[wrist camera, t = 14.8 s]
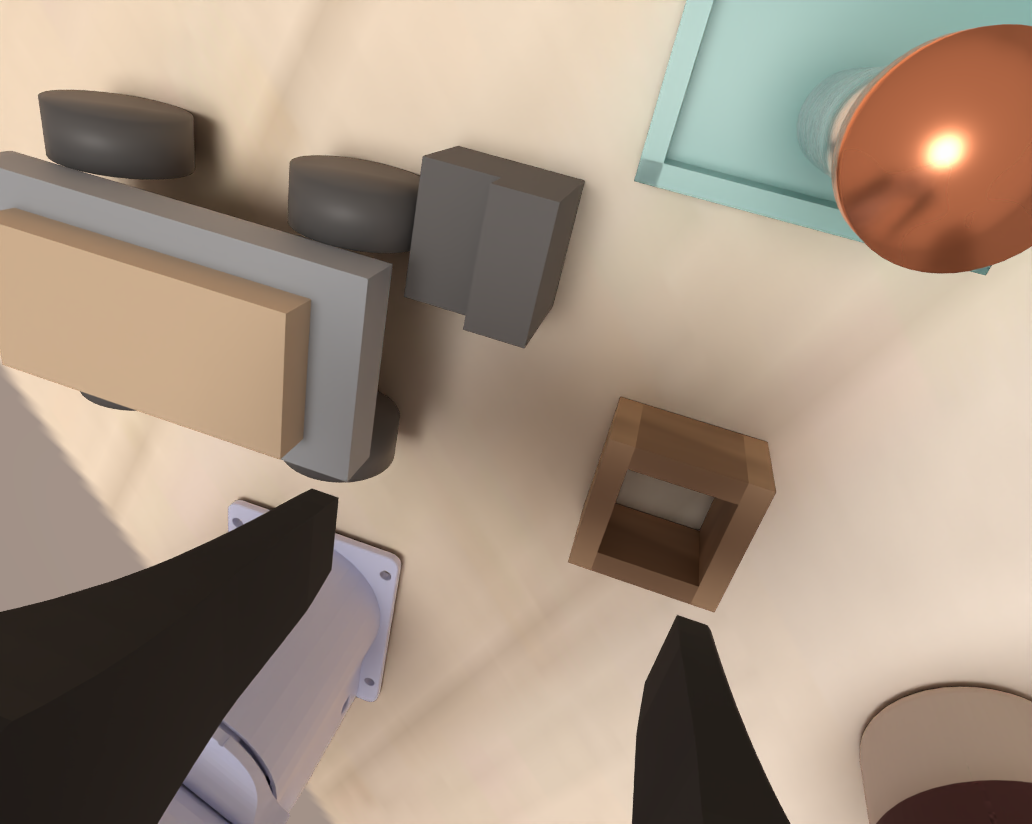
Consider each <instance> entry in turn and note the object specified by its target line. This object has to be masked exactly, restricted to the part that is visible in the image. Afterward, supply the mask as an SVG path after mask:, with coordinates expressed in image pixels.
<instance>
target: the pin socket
mask: <svg viewBox="0 0 1032 824" xmlns="http://www.w3.org/2000/svg"><path fill="white" fill-rule="evenodd" d="M627 469H629V470H632V471H635V472H638V473H641V474H644V475H647V476H650V477H654V478H657V479H660V480H663V481H666V482H669V483H672V484H675V485H678V486H682V487H685V488H688V489H691V490H694V491H697V492H700V493H703V494H706V495H709V496H713V497H715V498H714V500H713V502H712V505H711V507H710V509H709V511H708V513H707V516H706V518H705V520H704V522H703V524H702V527H701V529H700V531H698V530H695V529H692V528H689V527H685V526H682V525H679V524H676V523H673V522H670V521H667V520H664V519H661V518H658V517H655V516H652V515H649V514H646V513H643V512H640V511H637V510H634V509H631V508H628V507H625V506H622V505H619V504H616V503H615V502H616V499H617V497H618V494H619V491H620V488H621V486H622V483H623V480H624V477H625V475H626V472H627ZM775 493H776V488H775V483H774V477H773V471H772V465H771V460H770V454H769V448H768V442H765V441H762V440H759V439H756V438H752V437H749V436H746V435H743V434H739V433H736V432H733V431H730V430H726V429H723V428H720V427H717V426H713V425H710V424H707V423H704V422H701V421H697V420H694V419H691V418H688V417H684V416H681V415H678V414H675V413H671V412H668V411H665V410H662V409H658V408H655V407H652V406H649V405H646V404H642V403H639V402H636V401H633V400H629V399H626V398H623V397H620V400H619V403H618V406H617V409H616V412H615V415H614V418H613V421H612V424H611V427H610V430H609V433H608V436H607V439H606V442H605V445H604V448H603V451H602V454H601V457H600V460H599V463H598V466H597V469H596V472H595V475H594V478H593V481H592V484H591V487H590V490H589V493H588V496H587V499H586V501H585V504H584V507H583V510H582V514H581V517H580V521H579V525H578V528H577V532H576V535H575V539H574V542H573V546H572V550H571V553H570V557H569V560H568V562H569V563H572V564H575V565H577V566H580V567H583V568H586V569H589V570H592V571H595V572H598V573H601V574H604V575H607V576H610V577H612V578H615V579H618V580H621V581H624V582H627V583H630V584H633V585H636V586H639V587H642V588H644V589H647V590H650V591H653V592H656V593H659V594H662V595H665V596H668V597H671V598H674V599H677V600H679V601H682V602H685V603H688V604H691V605H694V606H697V607H700V608H703V609H706V610H709V611H712V612H715V610H716V608H717V606H718V605H719V603H720V601H721V599H722V597H723V595H724V593H725V591H726V589H727V587H728V585H729V583H730V581H731V579H732V577H733V575H734V573H735V571H736V569H737V567H738V566H739V564H740V562H741V560H742V558H743V556H744V554H745V552H746V550H747V548H748V546H749V544H750V542H751V540H752V538H753V536H754V534H755V532H756V530H757V528H758V527H759V525H760V523H761V521H762V519H763V517H764V515H765V513H766V511H767V509H768V507H769V505H770V503H771V501H772V499H773V497H774V495H775Z"/></svg>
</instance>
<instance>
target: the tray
mask: <svg viewBox="0 0 1032 824" xmlns="http://www.w3.org/2000/svg"><path fill="white" fill-rule="evenodd" d="M1000 24H1020V25H1028V26H1032V0H687V1H686V4H685V8H684V11H683V14H682V18H681V21H680V25H679V28H678V32H677V35H676V39H675V42H674V45H673V49H672V52H671V56H670V59H669V63H668V66H667V69H666V73H665V76H664V80H663V83H662V87H661V90H660V94H659V97H658V100H657V104H656V107H655V111H654V114H653V118H652V121H651V124H650V128H649V131H648V135H647V138H646V142H645V145H644V149H643V152H642V155H641V159H640V162H639V166H638V169H637V173H636V176H635V179H634V181H636V182H639V183H643V184H647V185H651V186H654V187H658V188H662V189H665V190H669V191H673V192H677V193H680V194H684V195H688V196H692V197H695V198H699V199H703V200H706V201H710V202H714V203H718V204H721V205H725V206H729V207H733V208H736V209H740V210H744V211H747V212H751V213H755V214H759V215H762V216H766V217H770V218H774V219H777V220H781V221H785V222H788V223H792V224H796V225H800V226H803V227H807V228H811V229H815V230H818V231H822V232H826V233H829V234H833V235H837V236H841V237H844V238H848V239H852V240H856V241H859V242H863V241H862V240H861V239H860V238H859V237H858V235H857V234H856V233H855V232H854V231H853V230H852V229H851V228H850V227H849V225H848V224H847V222H846V221H845V220H844V218H843V216H842V214H841V212H840V210H839V208H838V206H837V203H836V200H835V197H834V193H833V187H832V178H830V177H829V176H828V175H827V174H825V173H824V172H823V171H822V170H820V169H819V168H818V167H817V166H815V165H814V164H813V163H812V162H810V161H809V160H808V159H807V158H806V156H805V155H804V154H803V152H802V150H801V148H800V146H799V143H798V138H797V121H798V116H799V113H800V110H801V108H802V106H803V103H804V102H805V100H806V98H807V97H808V95H809V94H810V93H811V92H812V90H813V89H814V88H815V87H816V86H817V85H818V84H820V83H821V82H822V81H823V80H825V79H826V78H828V77H829V76H831V75H833V74H835V73H837V72H840V71H843V70H847V69H852V68H866V67H883V66H888V65H889V64H890V63H892V62H893V61H894V60H895V59H897V58H898V57H900V56H901V55H903V54H904V53H906V52H908V51H909V50H911V49H912V48H914V47H916V46H918V45H920V44H922V43H924V42H927V41H929V40H931V39H934V38H937V37H940V36H942V35H945V34H949V33H953V32H957V31H962V30H967V29H972V28H978V27H983V26H991V25H1000ZM863 243H864V242H863ZM991 266H992V265H991ZM991 266H988V267H984V268H980V269H976V270H972V271H971V272H975V273H978V274H982V275H986V274H987V272H988V271H989V269H990V267H991Z"/></svg>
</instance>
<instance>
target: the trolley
mask: <svg viewBox="0 0 1032 824" xmlns="http://www.w3.org/2000/svg"><path fill="white" fill-rule="evenodd" d="M38 99H39V106H40V113H41V120H42V128H43V135H44V142H45V149H46V155H47V157H48V158H49V159H50V160H52V161H53V162H55V163H57V164H60V165H57V164H54V163H51V162H47V161H44V160H41V159H37V158H34V157H30V156H27V155H24V154H20V153H17V152H14V151H5V152H0V354H1V359H2V364H3V365H5V366H8V367H11V368H14V369H17V370H20V371H23V372H26V373H29V374H32V375H34V376H37V377H40V378H43V379H46V380H49V381H52V382H55V383H58V384H61V385H64V386H67V387H69V388H72V389H75V390H78V391H80V392H81V394H82V395H83V396H84V397H85V398H86V399H88V400H89V401H91V402H93V403H95V404H98V405H100V406H104V407H107V408H112V409H118V410H129V411H140V412H143V413H145V414H148V415H151V416H154V417H157V418H160V419H163V420H166V421H169V422H172V423H175V424H178V425H180V426H183V427H186V428H189V429H192V430H195V431H198V432H201V433H204V434H207V435H210V436H213V437H216V438H218V439H221V440H224V441H227V442H230V443H233V444H236V445H239V446H242V447H245V448H248V449H251V450H254V451H256V452H259V453H262V454H265V455H268V456H271V457H274V458H277V459H281V460H284V461H285V463H286V464H287V465H288V466H290V467H291V468H292V469H294V470H295V471H296V472H298V473H300V474H302V475H305V476H307V477H310V478H313V479H317V480H321V481H327V482H355V481H361V480H365V479H368V478H371V477H374V476H376V475H378V474H380V473H381V472H383V471H384V470H386V469H387V468H388V467H389V466H390V464H391V463H392V461H393V459H394V454H395V447H396V440H397V433H398V426H399V419H400V413H399V410H398V408H397V406H396V404H395V403H394V402H393V401H392V400H391V399H390V398H389V397H387V396H386V395H384V394H382V393H381V392H379V391H377V390H378V382H379V373H380V365H381V357H382V348H383V340H384V332H385V324H386V315H387V307H388V299H389V290H390V282H391V274H392V266H393V264H391V263H387V262H384V261H381V260H377V259H374V258H371V257H367V256H364V255H360V254H357V253H354V252H350V251H347V250H344V249H349V250H355V251H362V252H371V253H401V252H408V251H410V248H411V241H412V233H413V226H414V218H415V211H416V203H417V196H418V189H419V181H420V176H418V175H416V174H413V173H411V172H408V171H405V170H402V169H399V168H396V167H392V166H389V165H385V164H381V163H376V162H372V161H367V160H361V159H355V158H348V157H339V156H324V155H312V156H302V157H297V158H294V159H292V160H291V161H290V168H289V195H288V224H289V226H290V227H291V228H292V229H293V230H295V231H296V232H298V233H299V234H301V235H303V236H305V237H307V238H309V239H307V238H303V237H300V236H296V235H293V234H290V233H286V232H283V231H280V230H276V229H273V228H270V227H266V226H263V225H259V224H256V223H253V222H249V221H246V220H243V219H239V218H236V217H232V216H229V215H226V214H222V213H219V212H216V211H212V210H209V209H206V208H202V207H199V206H195V205H192V204H189V203H185V202H182V201H179V200H175V199H172V198H169V197H165V196H162V195H158V194H155V193H152V192H148V191H145V190H142V189H138V188H135V187H131V186H128V185H125V184H121V183H118V182H115V181H111V180H108V179H105V178H101V177H98V176H94V175H91V174H88V173H92V174H97V175H103V176H110V177H118V178H129V179H172V178H180V177H184V176H187V175H190V174H192V173H193V172H194V171H195V152H194V121H193V115H192V114H191V113H189V112H188V111H186V110H184V109H181V108H179V107H176V106H173V105H169V104H166V103H162V102H158V101H154V100H149V99H145V98H140V97H134V96H128V95H122V94H115V93H107V92H97V91H85V90H52V91H45V92H42V93H40V94H39V95H38ZM61 165H62V166H61ZM64 166H65V167H64ZM67 167H68V168H67ZM74 169H75V170H74ZM81 171H82V172H81ZM84 172H87V173H84ZM310 239H312V240H310ZM313 240H315V241H313ZM323 243H324V244H323ZM330 245H331V246H330ZM333 246H334V247H333ZM337 247H339V248H337ZM340 248H343V249H340Z"/></svg>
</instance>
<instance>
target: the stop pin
mask: <svg viewBox="0 0 1032 824" xmlns="http://www.w3.org/2000/svg"><path fill="white" fill-rule="evenodd" d="M797 138H798V143H799V146H800V148H801V150H802V152H803V154H804V155H805V156H806V158H807V159H808V160H809V161H810V162H812V163H813V164H814V165H815V166H817V167H818V168H819V169H820V170H822V171H823V172H824V173H825V174H827V175H828V176H829V177H830V178H832V187H833V193H834V197H835V200H836V203H837V206H838V208H839V210H840V212H841V214H842V216H843V218H844V220H845V221H846V222H847V224H848V225H849V227H850V228H851V229H852V230H853V231H854V232H855V233H856V234H857V235H858V237H859V238H860V239H861V240H862V241H863V242H864V243H865V244H866V245H867V246H868V247H869V248H870V249H871V250H873V251H874V252H876V253H877V254H878V255H880V256H881V257H882V258H884V259H886V260H888V261H890V262H892V263H894V264H896V265H899V266H902V267H905V268H907V269H911V270H916V271H921V272H928V273H958V272H965V271H972V270H976V269H980V268H984V267H988V266H991V265H993V264H996V263H999V262H1002V261H1005V260H1007V259H1009V258H1011V257H1013V256H1015V255H1017V254H1019V253H1021V252H1023V251H1025V250H1026V249H1028V248H1030V247H1031V246H1032V26H1028V25H1020V24H1000V25H991V26H983V27H978V28H972V29H967V30H962V31H957V32H953V33H949V34H945V35H942V36H940V37H937V38H934V39H931V40H929V41H927V42H924V43H922V44H920V45H918V46H916V47H914V48H912V49H911V50H909V51H908V52H906V53H904V54H903V55H901V56H900V57H898V58H897V59H895V60H894V61H893V62H892V63H890V64H889V65H888V66H883V67H866V68H852V69H847V70H843V71H840V72H837V73H835V74H833V75H831V76H829V77H828V78H826V79H825V80H823V81H822V82H821V83H820V84H818V85H817V86H816V87H815V88H814V89H813V90H812V92H811V93H810V94H809V95H808V97H807V98H806V100H805V102H804V103H803V106H802V108H801V110H800V113H799V116H798V121H797Z"/></svg>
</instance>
